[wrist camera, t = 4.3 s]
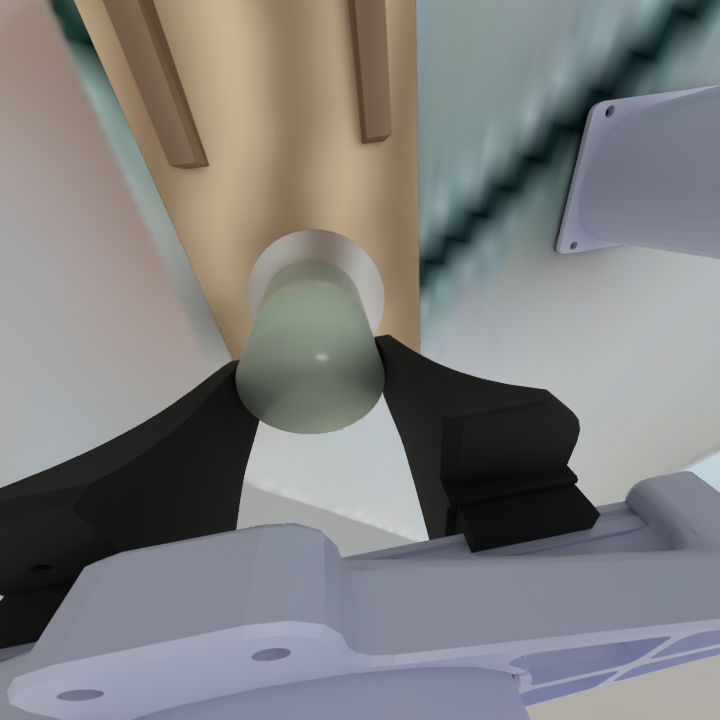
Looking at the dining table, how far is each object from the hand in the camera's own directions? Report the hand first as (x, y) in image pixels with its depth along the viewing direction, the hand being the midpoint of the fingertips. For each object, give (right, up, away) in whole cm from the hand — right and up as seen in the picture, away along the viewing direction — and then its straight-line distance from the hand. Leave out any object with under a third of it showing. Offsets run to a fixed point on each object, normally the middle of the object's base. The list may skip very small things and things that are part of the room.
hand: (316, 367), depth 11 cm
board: (-2, +9, +5) cm, 11 cm away
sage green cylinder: (-1, +2, +4) cm, 5 cm away
